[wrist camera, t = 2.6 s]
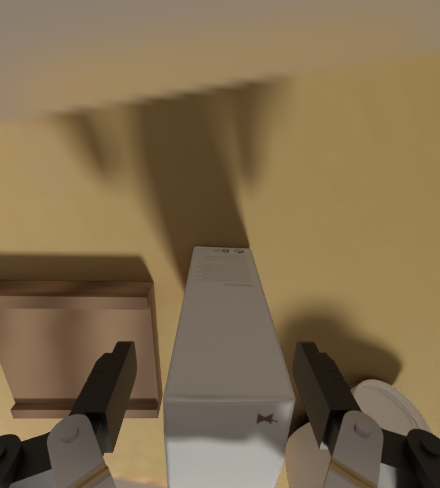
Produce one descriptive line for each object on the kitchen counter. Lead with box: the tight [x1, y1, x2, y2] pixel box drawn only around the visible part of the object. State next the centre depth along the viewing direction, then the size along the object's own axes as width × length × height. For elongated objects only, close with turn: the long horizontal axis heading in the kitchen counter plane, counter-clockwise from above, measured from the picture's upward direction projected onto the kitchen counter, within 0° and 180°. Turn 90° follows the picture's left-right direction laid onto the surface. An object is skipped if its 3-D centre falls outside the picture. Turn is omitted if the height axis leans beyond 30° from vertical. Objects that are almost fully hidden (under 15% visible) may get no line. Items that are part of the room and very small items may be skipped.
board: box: [0, 280, 162, 418], centre depth 21 cm, size 12×12×2 cm
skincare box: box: [163, 246, 295, 488], centre depth 15 cm, size 6×4×12 cm
